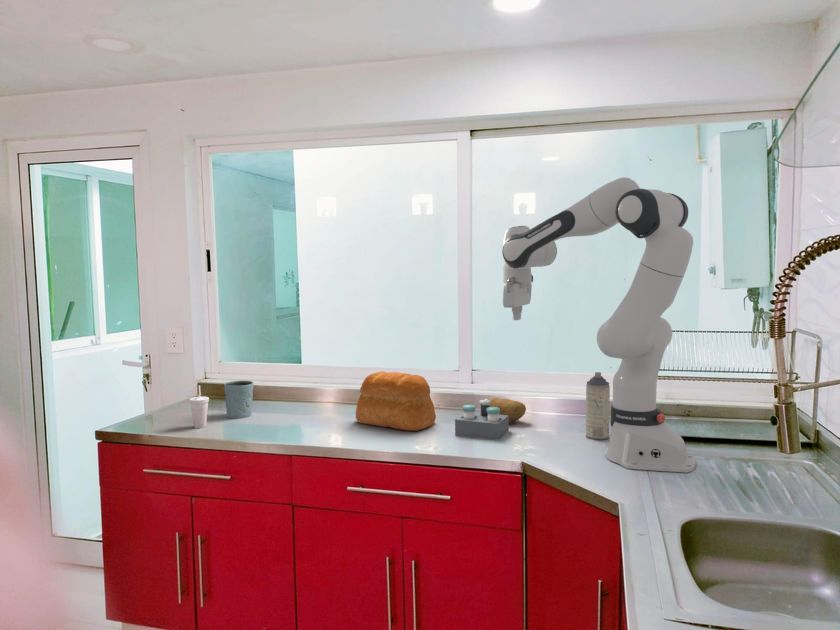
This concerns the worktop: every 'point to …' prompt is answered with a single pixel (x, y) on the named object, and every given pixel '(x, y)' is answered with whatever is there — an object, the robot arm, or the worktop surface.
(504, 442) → the worktop surface
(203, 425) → the smoothie
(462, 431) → the mount
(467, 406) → the white cylinder
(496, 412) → the white bottle teal cap
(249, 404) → the grey cup
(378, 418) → the bread
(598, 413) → the aerosol can
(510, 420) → the potato
